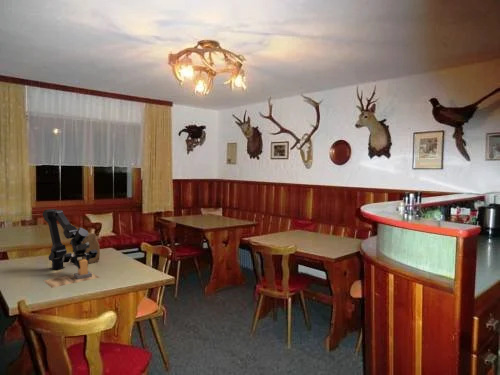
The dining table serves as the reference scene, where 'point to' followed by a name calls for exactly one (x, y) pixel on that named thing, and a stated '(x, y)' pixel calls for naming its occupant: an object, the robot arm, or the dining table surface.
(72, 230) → the robot arm
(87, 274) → the sanding block
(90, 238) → the bread loaf
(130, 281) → the dining table surface
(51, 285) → the board
